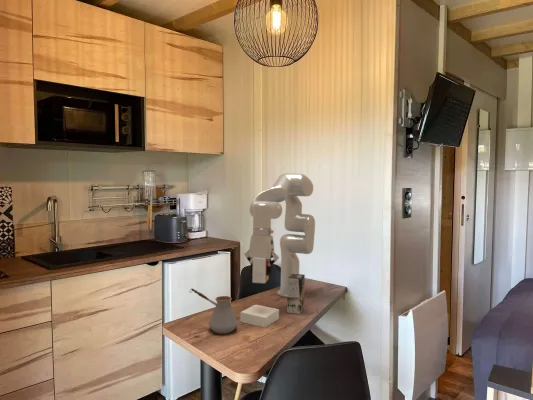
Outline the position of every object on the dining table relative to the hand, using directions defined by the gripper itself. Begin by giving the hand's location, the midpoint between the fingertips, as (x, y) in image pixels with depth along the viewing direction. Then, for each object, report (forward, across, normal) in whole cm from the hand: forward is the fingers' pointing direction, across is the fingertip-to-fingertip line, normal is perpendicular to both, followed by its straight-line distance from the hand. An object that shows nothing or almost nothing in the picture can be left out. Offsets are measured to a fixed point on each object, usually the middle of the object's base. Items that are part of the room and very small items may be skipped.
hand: (260, 273), depth 169 cm
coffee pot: (+21, +13, +17) cm, 30 cm away
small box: (+3, 0, 0) cm, 3 cm away
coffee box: (+20, -9, -19) cm, 29 cm away
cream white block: (+21, 0, 0) cm, 21 cm away
